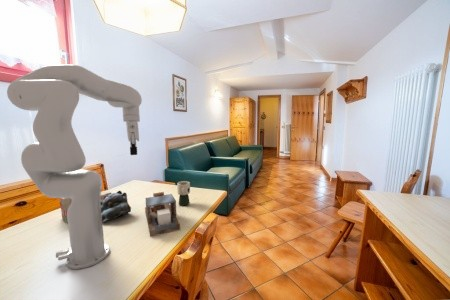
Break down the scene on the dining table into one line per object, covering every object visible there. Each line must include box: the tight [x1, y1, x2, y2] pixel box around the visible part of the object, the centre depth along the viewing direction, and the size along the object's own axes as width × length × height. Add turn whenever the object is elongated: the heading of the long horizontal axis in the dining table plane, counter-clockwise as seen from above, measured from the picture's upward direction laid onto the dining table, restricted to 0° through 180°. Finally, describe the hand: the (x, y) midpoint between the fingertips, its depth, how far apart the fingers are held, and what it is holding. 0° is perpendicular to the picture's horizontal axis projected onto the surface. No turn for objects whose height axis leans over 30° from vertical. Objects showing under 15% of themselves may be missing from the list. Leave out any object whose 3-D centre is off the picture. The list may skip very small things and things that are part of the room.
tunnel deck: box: [144, 193, 181, 238], centre depth 95 cm, size 13×26×11 cm, turn 26°
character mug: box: [176, 180, 191, 206], centre depth 114 cm, size 11×7×13 cm, turn 10°
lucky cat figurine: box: [101, 190, 132, 224], centre depth 99 cm, size 15×12×14 cm
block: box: [157, 208, 171, 225], centre depth 87 cm, size 5×5×6 cm
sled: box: [152, 191, 176, 232], centre depth 91 cm, size 9×20×9 cm, turn 26°
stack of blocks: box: [59, 190, 112, 223], centre depth 103 cm, size 21×6×12 cm, turn 140°
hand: (133, 154), depth 101 cm, fingers closed
